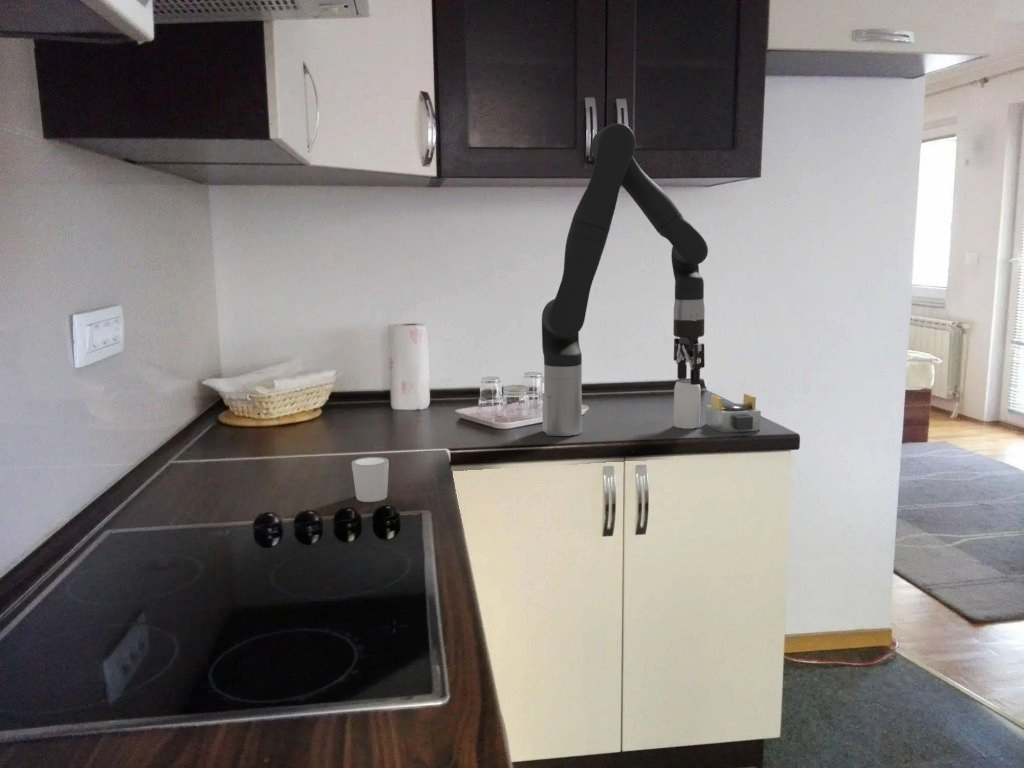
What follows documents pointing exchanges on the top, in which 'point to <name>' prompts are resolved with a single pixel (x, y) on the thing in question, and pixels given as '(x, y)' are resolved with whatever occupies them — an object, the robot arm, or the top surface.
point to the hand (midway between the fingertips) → (688, 381)
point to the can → (686, 404)
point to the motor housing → (733, 415)
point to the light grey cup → (370, 478)
